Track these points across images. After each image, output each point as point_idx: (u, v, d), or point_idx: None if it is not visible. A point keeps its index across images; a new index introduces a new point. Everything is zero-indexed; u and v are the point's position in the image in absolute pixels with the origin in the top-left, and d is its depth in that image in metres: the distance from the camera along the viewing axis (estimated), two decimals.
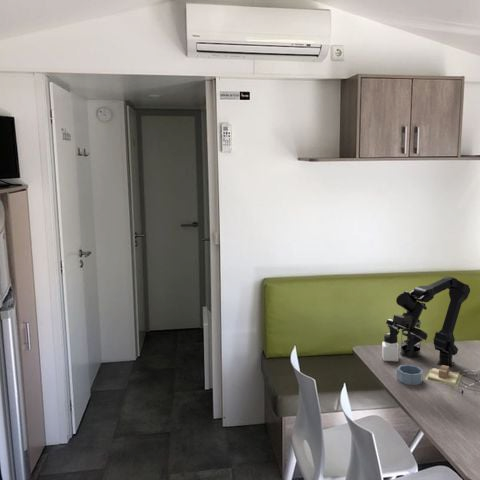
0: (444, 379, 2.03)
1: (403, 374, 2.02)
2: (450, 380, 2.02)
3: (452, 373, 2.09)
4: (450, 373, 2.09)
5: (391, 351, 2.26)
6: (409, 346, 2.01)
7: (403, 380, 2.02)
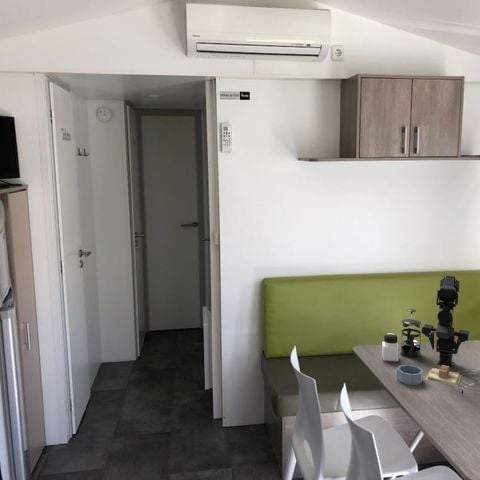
0: (444, 379, 2.03)
1: (403, 374, 2.02)
2: (450, 380, 2.02)
3: (452, 373, 2.09)
4: (450, 373, 2.09)
5: (391, 351, 2.26)
6: None
7: (403, 380, 2.02)
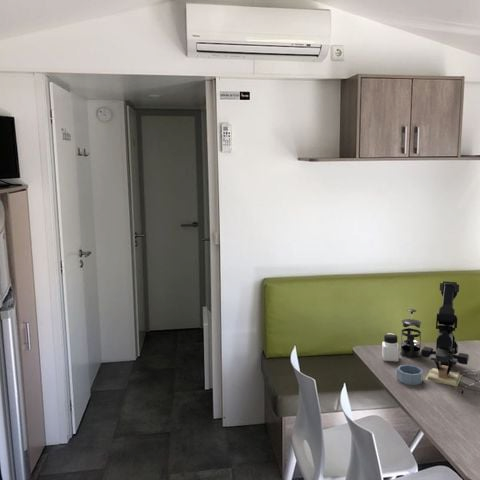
0: (444, 379, 2.03)
1: (403, 374, 2.02)
2: (450, 380, 2.02)
3: (452, 373, 2.09)
4: (450, 373, 2.09)
5: (391, 351, 2.26)
6: (449, 370, 2.06)
7: (403, 380, 2.02)
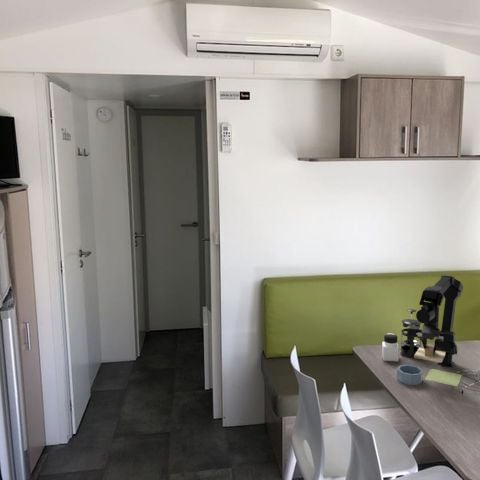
0: (430, 357, 2.00)
1: (403, 374, 2.02)
2: (437, 358, 1.99)
3: (438, 352, 2.06)
4: (436, 352, 2.06)
5: (391, 351, 2.26)
6: (436, 349, 2.03)
7: (403, 380, 2.02)
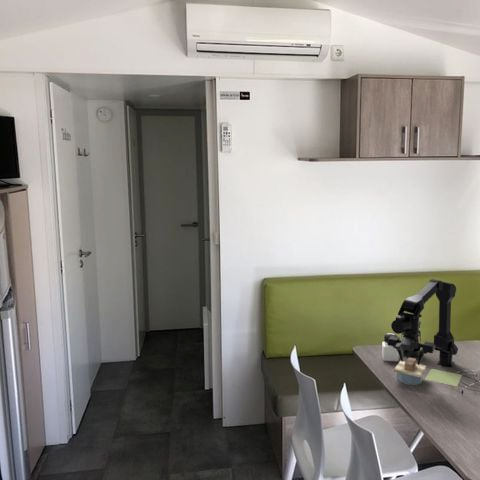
0: (410, 371, 2.01)
1: (403, 374, 2.02)
2: (416, 372, 2.00)
3: (419, 366, 2.06)
4: (417, 366, 2.06)
5: (391, 351, 2.26)
6: (420, 360, 2.02)
7: (403, 380, 2.02)
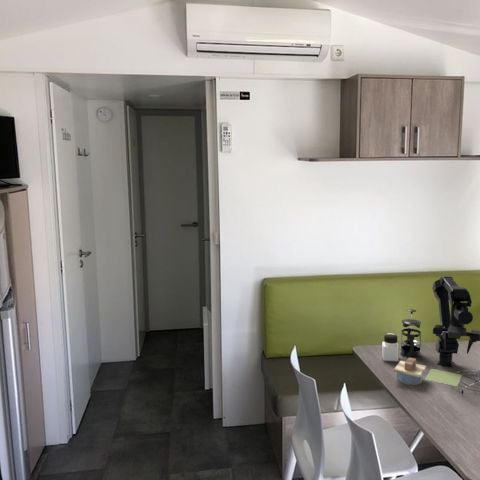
0: (410, 371, 2.01)
1: (403, 374, 2.02)
2: (416, 372, 2.00)
3: (419, 366, 2.06)
4: (417, 366, 2.06)
5: (391, 351, 2.26)
6: (469, 349, 2.03)
7: (403, 380, 2.02)
